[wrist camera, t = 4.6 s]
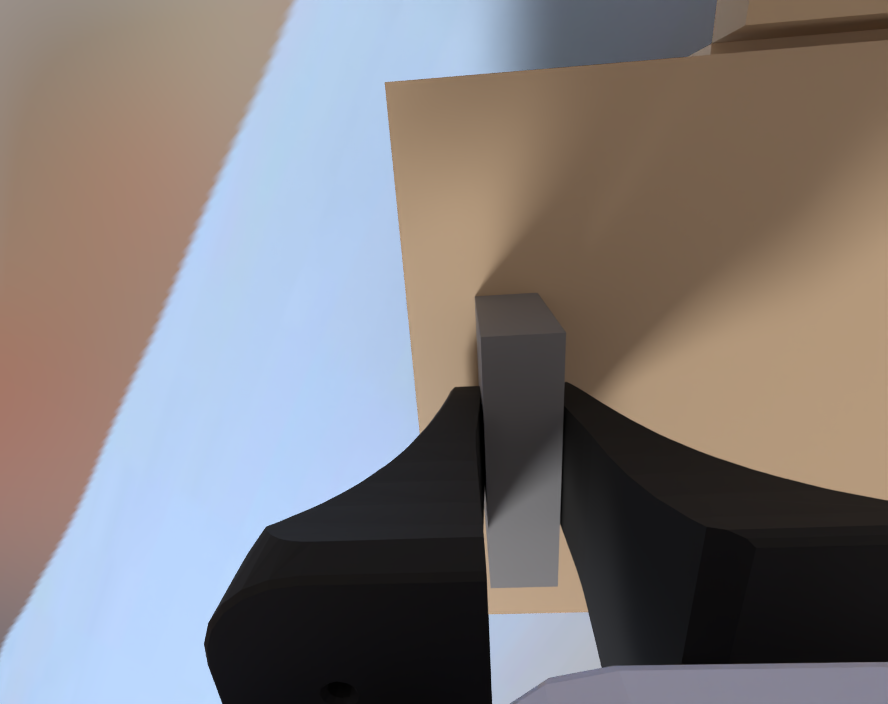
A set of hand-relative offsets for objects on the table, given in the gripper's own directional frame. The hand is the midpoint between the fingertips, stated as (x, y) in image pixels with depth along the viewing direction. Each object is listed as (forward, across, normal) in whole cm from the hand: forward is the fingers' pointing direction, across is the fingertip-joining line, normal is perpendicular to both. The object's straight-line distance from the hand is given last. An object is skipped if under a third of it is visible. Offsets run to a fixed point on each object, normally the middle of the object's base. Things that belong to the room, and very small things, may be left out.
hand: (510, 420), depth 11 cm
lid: (+1, -5, 0) cm, 6 cm away
